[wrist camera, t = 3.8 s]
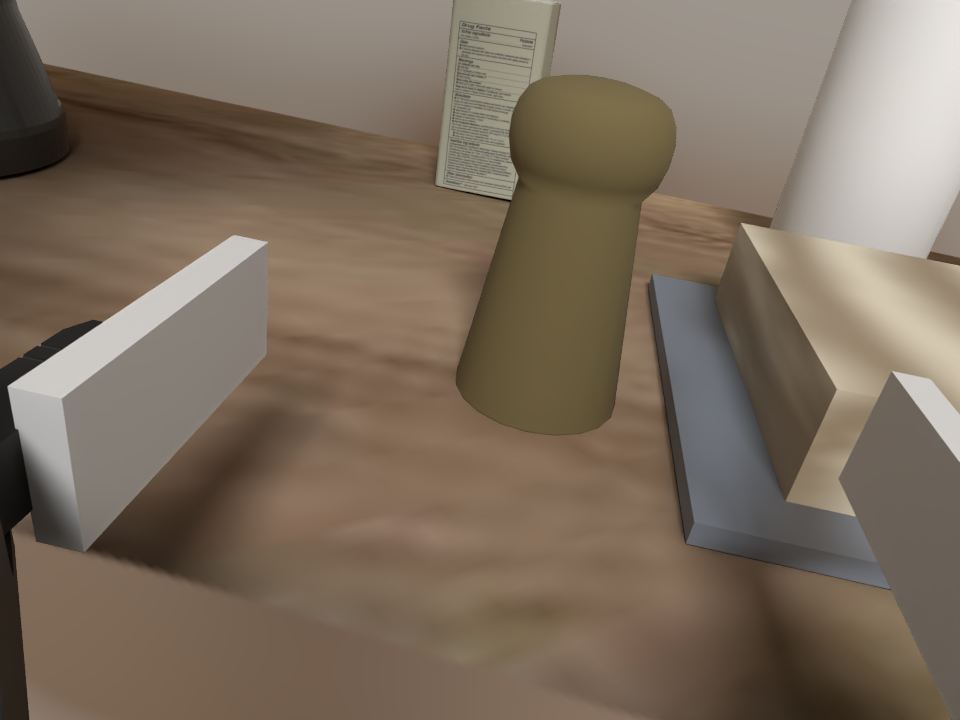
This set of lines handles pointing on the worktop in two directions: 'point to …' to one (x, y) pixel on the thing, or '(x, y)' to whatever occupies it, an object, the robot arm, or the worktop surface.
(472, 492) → the worktop surface
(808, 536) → the plinth
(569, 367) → the cork
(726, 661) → the worktop surface
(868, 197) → the alcohol
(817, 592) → the worktop surface
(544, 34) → the skincare box
